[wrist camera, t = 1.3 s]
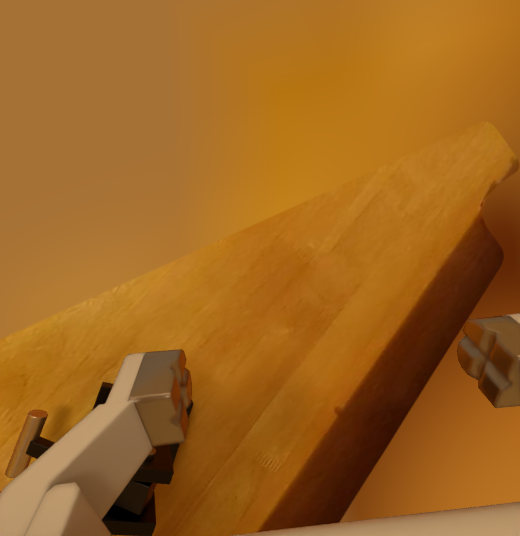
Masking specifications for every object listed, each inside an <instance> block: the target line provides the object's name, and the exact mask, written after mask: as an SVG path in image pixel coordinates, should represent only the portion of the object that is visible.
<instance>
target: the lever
mask: <svg viewBox="0 0 520 536" xmlns="http://www.w3.org/2000/svg"><path fill="white" fill-rule="evenodd" d="M47 416H48V413H47V412H46V411H43V410H32V411H30V412H29V413H28V415H27V418H26V421H25V423H24V426H23V428H22V431H21V433H20V436H19V438H18V441H17V443H16V446H15V449H14V451H13V454H12V456H11V459H10V461H9V464H8V466H7V469H6V471H5V475H6V476H7V477H10V478H16V477H17V476H18V475H20V474H21V473H22V472H23V471H24V470H25V469H26V468H28V465H29V463H30V460H31V457H34V458H37V459H38V458H39V457H40V456H41V455H42V454H44V453H45V452H46V451H47V450H48V449H49V448H50V447H52V446H53V445H54V444H55V442H52V441H50V440H47V439H45V438H42V437H40V434H41V431H42V429H43V426H44V424H45V421H46V419H47ZM156 484H157V483H149V482H139V481H129V483H128V484H127V485H126V487H125V488H124V490H123V491H122V492H121V494H120V495H119V497H118V498H117V499H116V501H115V502H114V503H113V505H115V506H117V507H120V508H122V509H125V510H127V511H130V512H132V513H135V514H137V515H140V514H141V513H142V511H143V510H144V508H145V507H146V505H147V504H148V502H149V501H150V499H151V498H152V495H153V492H154V490H155V487H156Z"/></svg>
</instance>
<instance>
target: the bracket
mask: <svg viewBox="0 0 520 536" xmlns="http://www.w3.org/2000/svg"><path fill="white" fill-rule="evenodd" d="M112 387H113V384H110V383H105V382H103V383H102V386H101V388H100V391H99V394H98V396H97V399H96V402H95V405H94V407H93V410H94V409H95V408H96V407H97V406H98V405H100V404H105V403H106V401H107V398H108V396H109V394H110V391H111V389H112ZM192 406H193V402H192V399H191V405H190V406H189V407H188V408H187V409H186V412H187V416H188V417H189V415H190V412H191V409H192ZM93 410H92V411H93ZM179 444H180V443H177V444H169V445H162V446H155V447H152V448H153V449H152V451H151V452H150V453H149V455H148V456H147V458H146V459H145V460H144V462H143V463H142V465H141V466H140V467H139V469H138V470H137V472H136V473H135V474H134V476H133V477H132V478H131V480H130V481H139V482H149V483H160V484H170V482H171V479H172V476H173V473H174V471H173V462H174V459H175V456H176V453H177V450H178V447H179ZM102 521H103V523H104V524H105V526H106V527H107V529H108V530H109V532H110V533H111V534H112V535H130V536H152V535H153V532H154V529H155V526H156V514H155V496H154V492H153V495H152V498H151V499H150V501H149V502H148V504H147V505H146V507H145V508H144V510H143V511H142V513H141V514H140V515H137V514H135V513H132V512H130V511H127V510H125V509H122V508H120V507H117V506H115V505H112V506H111V508H110V509H109V510H108V512H107V513H106V515H105V516H104V517H103V519H102Z"/></svg>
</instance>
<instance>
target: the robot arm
mask: <svg viewBox="0 0 520 536" xmlns="http://www.w3.org/2000/svg"><path fill="white" fill-rule="evenodd" d="M463 332H464V333H465V335H466V336H465V337H464V338H463V339H462V340H461V341H460V342H459V344H458V348H457V355H458V361H459V363H460V365H461V367H462V368H463V369H464V371H465V372H466V373H467V374H468V375H469V376H471V377H473V378H475V379H477V380H478V388H479V389H480V390H481V391H482V393H483V394H484V395H485V396H486V397H487V399H488V400H489V401H490V402H491V403H492V405H493V406H494V407H495V408H502V407H514V406H520V313H518V314H511V315H504V316H494V317H486V318H477V319H469V320H468V321H467V322H466V323H465V325H464V328H463ZM185 364H186V356H185V353H184V351H183V350H182V349H181V350H168V351H156V352H147V353H135V354H128V355H127V356H126V357H125V358H124V361H123V363H122V365H121V368H120V370H119V372H118V375H117V377H116V380H115V382H114V384H113V387H112V389H111V391H110V394H109V396H108V398H107V401H106V403H105V404H100V405H98V406H97V407H96V408H95V409H94V410H93V411H91V412H90V413H89V414H88V415H87V416H86V417H85V418H83V419H82V420H81V421H80V422H79V423H78V424H77V425H75V426H74V427H73V428H72V429H71V430H70V431H69V432H67V433H66V434H65V435H64V436H63V437H62V438H61V439H59V440H58V441H57V442H56V443H55V444H54V445H53V446H52V447H50V448H49V449H48V450H47V451H46V452H45V453H44V454H42V455H41V456H40V457H39V458H38V459H37V460H36V461H34V462H33V463H32V464H31V465H30V466H29V467H28V468H26V469H25V470H24V471H23V472H22V473H21V474H20V475H18V476H17V477H16V478H15V479H14V480H13V481H12V482H10V483H9V484H8V485H7V486H6V487H5V488H4V489H3V490H2V492H1V494H0V536H112V534H111V533H110V532H109V530H108V529H107V527H106V526H105V524H104V523H103V521H102V519H103V517H104V516H105V515H106V513H107V512H108V510H109V509H110V508H111V506H112V505H113V503H114V502H115V501H116V499H117V498H118V497H119V495H120V494H121V492H122V491H123V490H124V488H125V487H126V485H127V484H128V483H129V481H130V480H131V478H132V477H133V476H134V474H135V473H136V472H137V470H138V469H139V467H140V466H141V465H142V463H143V462H144V460H145V459H146V458H147V456H148V455H149V453H150V452H151V451H152V449H153V448H152V447H155V446H162V445H169V444H177V443H184V442H185V439H186V432H187V426H188V416H187V412H186V409H187V408H188V407H189V406H190V405H191V398H192V382H191V375H190V371H189V370H188V369H186V368H185ZM231 536H520V502H513V503H504V504H496V505H487V506H479V507H470V508H461V509H453V510H444V511H437V512H427V513H419V514H410V515H401V516H393V517H384V518H376V519H367V520H359V521H350V522H342V523H333V524H325V525H316V526H308V527H299V528H290V529H282V530H273V531H265V532H256V533H248V534H239V535H231Z"/></svg>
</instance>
